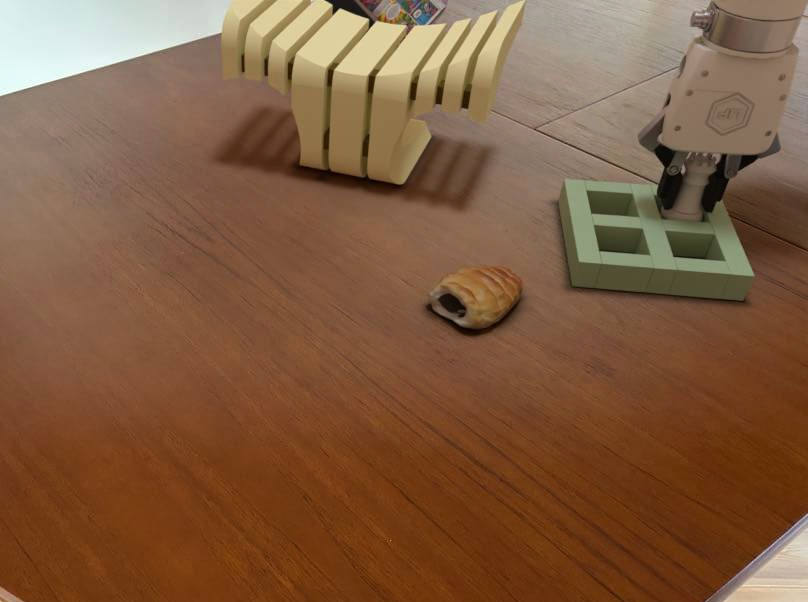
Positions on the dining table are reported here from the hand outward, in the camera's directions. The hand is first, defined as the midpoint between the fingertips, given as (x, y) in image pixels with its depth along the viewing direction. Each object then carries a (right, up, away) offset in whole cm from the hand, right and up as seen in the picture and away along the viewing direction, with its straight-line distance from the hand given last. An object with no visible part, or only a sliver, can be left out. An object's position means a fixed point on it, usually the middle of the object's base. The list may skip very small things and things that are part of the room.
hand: (685, 203), depth 91 cm
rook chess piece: (0, -2, +2) cm, 3 cm away
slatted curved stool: (-32, +9, +15) cm, 37 cm away
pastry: (-24, -12, -7) cm, 28 cm away
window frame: (-4, -5, 0) cm, 6 cm away
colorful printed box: (-28, +29, +35) cm, 53 cm away
